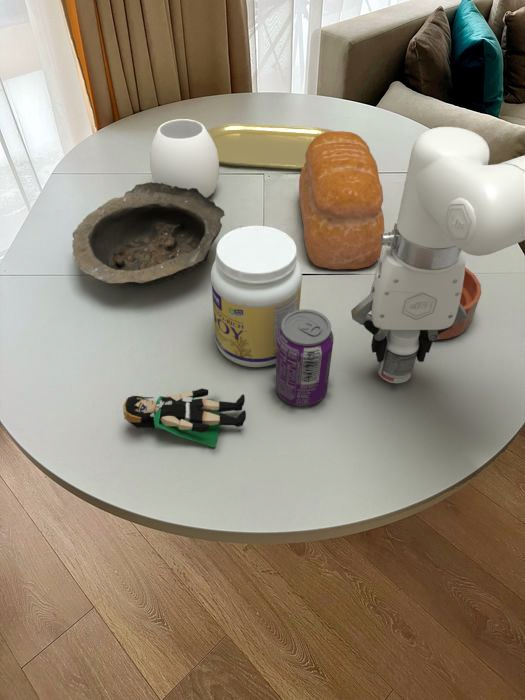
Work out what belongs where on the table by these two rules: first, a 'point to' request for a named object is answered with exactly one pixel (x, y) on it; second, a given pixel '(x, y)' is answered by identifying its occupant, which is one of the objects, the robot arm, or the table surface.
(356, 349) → the table surface
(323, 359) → the beverage can
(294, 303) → the supplement tub
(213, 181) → the white vase
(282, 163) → the serving platter
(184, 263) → the stone bowl
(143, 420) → the figurine
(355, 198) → the bread
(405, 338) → the pill bottle
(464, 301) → the terracotta bowl
